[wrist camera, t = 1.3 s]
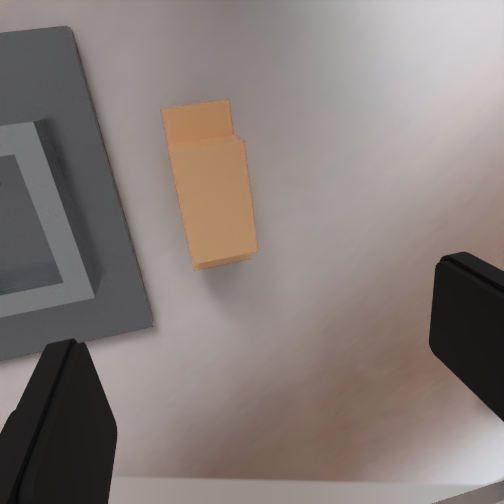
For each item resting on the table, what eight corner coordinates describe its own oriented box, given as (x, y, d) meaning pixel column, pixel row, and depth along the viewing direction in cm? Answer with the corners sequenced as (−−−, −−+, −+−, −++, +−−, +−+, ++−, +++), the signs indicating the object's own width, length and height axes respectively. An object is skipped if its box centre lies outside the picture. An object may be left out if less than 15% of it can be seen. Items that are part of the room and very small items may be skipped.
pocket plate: (-212, 59, 19) (-274, 53, 16) (71, 28, 21) (57, 19, 18) (-38, 361, 28) (-60, 390, 25) (153, 319, 30) (152, 342, 27)
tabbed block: (160, 107, 24) (159, 112, 18) (222, 98, 24) (238, 100, 19) (191, 254, 28) (198, 293, 23) (243, 244, 29) (261, 280, 23)
